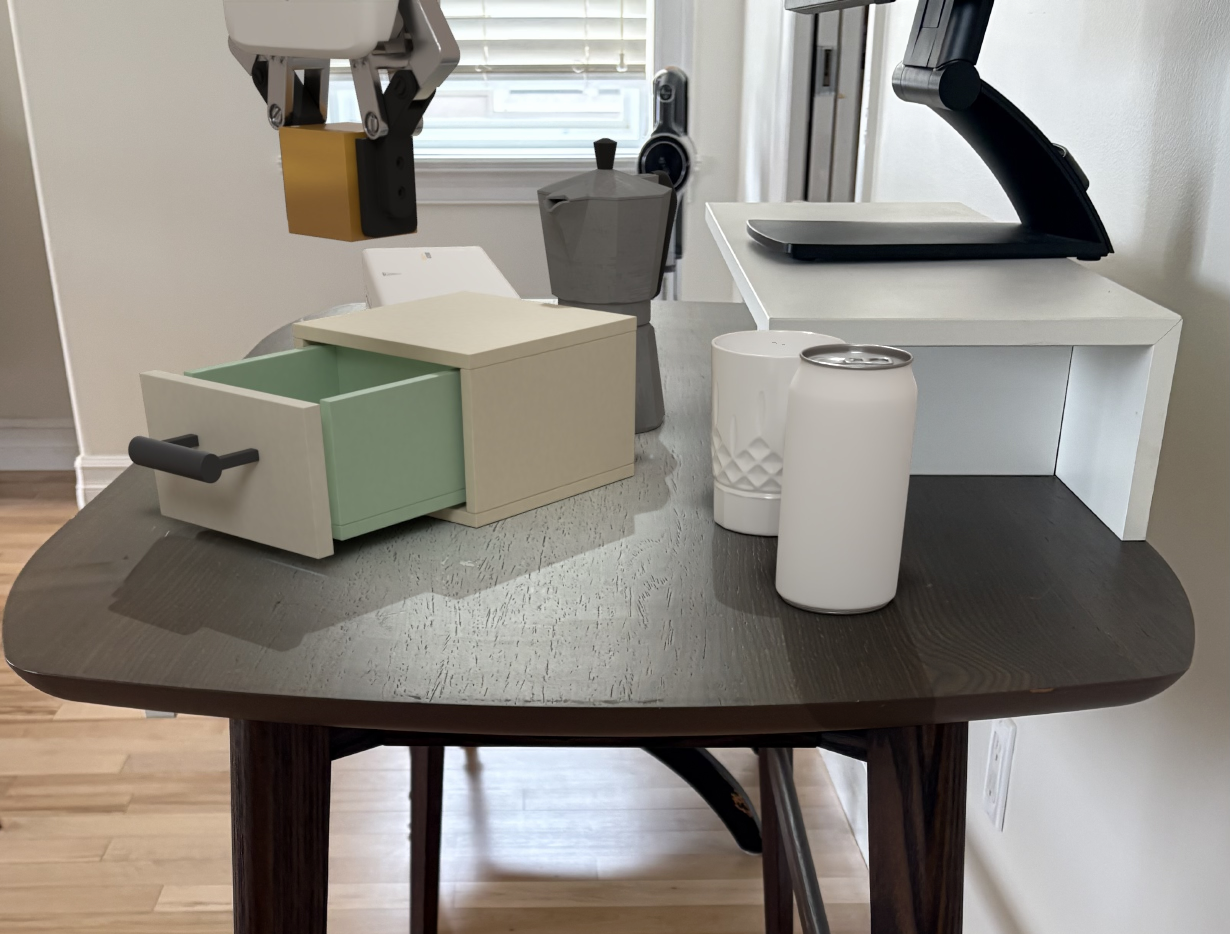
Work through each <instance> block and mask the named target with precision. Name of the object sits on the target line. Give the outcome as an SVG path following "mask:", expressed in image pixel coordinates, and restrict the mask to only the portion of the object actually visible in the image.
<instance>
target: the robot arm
mask: <svg viewBox="0 0 1230 934" xmlns="http://www.w3.org/2000/svg"><path fill="white" fill-rule="evenodd" d="M222 5H223V14H224V19H225V27H226V30H227V34H228V36H227V37H228V38H227V46H228V50H229V51H230V53H231V55H232V56H233V57H234V58H235V59H236V61H237V62H238V63H239V64H240V65H241V67H242V68H243V70H245V72H246V73H247V74H248V75H249V77H251V79H252V83H253V84H254V87H255V88H256V90H257V91H258V93H259V94H260V96H261V98H262V100H263V101H264V103H265V105H266V106H267V107H266V114H267V120H268V122H269V125H270V126H271V128H272V129H273V130H275V131H279V127H285V126H299V125H313V124H326V123H327V120H328V112H329V111H328V109H329V91H330V76H331V75H330V74H331V73H330V72H331V60H348V63H349V66H350V71H351V76H352V82H353V85H354V91H355V95H356V100H357V105H358V110H359V114H360V119H361V123H362V125H363V129H364V132H365V134H366V135H367V137H368V138H357V139H355V147H356V161H357V175H358V188H359V202H360V216H361V229H362V232H363V234H364V235H365V236H366V237H372V238H378V239H380V238H379V237H385V238H387V237H386V236H392V237H394V236H393V235H400V236H402V235H401V234H407V235H409V234H408V233H413V232H415V231H416V229H417V230H418V224H419V223H418V205H417V203H418V202H417V189H416V187H417V186H416V169H415V151H414V150H415V149H414V137H417V136H419V135H421V133H422V132H423V130H424V117H423V116H424V115H425V113H426V111H427V110H428V108H429V106H430V105H431V103H432V101H433V99H434V98H435V95H436V93H437V88H440V86H441V85H443V83H444V82H445V81H446V80H447V79H448V77H450V75H451V74H452V73H453V71H455V69H456V68H457V67H458V65H459V63H460V60H461V50H460V47H459V44H458V42H457V40H456V37H455V36H454V33H453V32H452V29H451V27H450V25H449V23H448V21H447V19H446V16H445V14H444V12H443V10H442V8H441V0H222ZM302 70H304V71H303V82H302V80H301V79H300V77H299V75H298V74H297V72H296V71H302ZM382 74H383V75H384V74H387V76H388V84H387V86H386V88H385V90H384V91H383V86H382V81H381V77H380V75H382ZM278 138H279V141H280V135H279V134H278ZM279 149H280V151H281V145H280V144H279ZM280 160H281V162H282V156H281V155H280ZM281 171H282V172H283V166H282V165H281ZM282 181H283V182H284V176H283V175H282ZM283 190H284V191H283V192H284V193H285V187H284V186H283ZM284 201H285V203H286V197H285V196H284ZM285 212H286V213H285V214H287V207H286V206H285ZM286 220H287V221H288V218H287V217H286Z"/></svg>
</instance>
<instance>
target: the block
mask: <svg viewBox="0 0 1230 934" xmlns="http://www.w3.org/2000/svg"><path fill="white" fill-rule="evenodd" d="M279 135H280V140H279V146H280V145H281V150H280V157H281V156H282V161H281V167H282V166H283V171H282V177H283V176H284V181H283V188H284V187H285V192H284V198H285V197H286V202H285V208H286V207H287V213H286V219H287V218H288V220H287V226H288V227H287V228H288V234H291V235H298V236H305V237H313V238H319V239H326V240H334V241H340V242H346V243H347V242H348V243H355V242H362V241H369V240H378V239H383V238H392V237H397V236H407V235H412V234H414V235H415V234H418V228H417V229H416V231H415V232H413V233H408V234H401V235H393V236H386V237H379V238H372V237H366V236H365V235H364V234H363V232H362V229H361V216H360V202H359V188H358V175H357V161H356V147H355V139H357V138H368V137H367V135H366V134H365V132H364V129H363V125H362V122H354V121H353V122H351V121H343V122H329V123H327V122H326V123H325V124H313V125H299V126H285V127H279V130H278V136H279Z"/></svg>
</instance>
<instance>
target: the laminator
mask: <svg viewBox="0 0 1230 934" xmlns="http://www.w3.org/2000/svg"><path fill="white" fill-rule="evenodd" d="M361 264H362V274H363V275H362V276H363V289H364V300H365V310H366V309H372V308H377V307H382V306H387V305H393V304H398V303H403V302H409V301H414V300H419V299H425V298H430V297H435V296H440V295H446V294H451V293H456V292H462V291H469V292H476V293H482V294H489V295H496V296H502V297H509V298H516V299H522V298H521V296H520V295H519V293H518V292H517V291H516V290H515V288H514V287H513V285H512V284H511V283H510V282H509V281H508V279H507V278H506V277H505V275H504V274H503V273H502V271H501V270H500V269H499V268H498V267H497V265H496V264H495V263H494V261H493V260H492V259H491V258H490V257H489V255H488V253H486V251H485V250H484V249H483V247H482V246H479V245H466V246H465V245H462V246H461V245H459V246H455V245H454V246H410V247H409V246H406V247H366V248H363V249H362V251H361Z"/></svg>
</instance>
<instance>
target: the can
mask: <svg viewBox="0 0 1230 934" xmlns="http://www.w3.org/2000/svg"><path fill="white" fill-rule="evenodd" d="M799 356H800V358H801V362H800V365H799V367H798V369H797V371H796V373H795V375H794V377H793V379H792V381H791V384H790V387H789V394H788V405H787V418H786V432H785V446H784V460H783V475H782V489H781V504H780V519H779V534H778V536H777V551H776V568H775V590H776V592H778V594H779V595H780V597H781V599H782V600H783V601H784V602H785V603H786V604H788V605H789V606H790V607H793V608H796V609H799V610H802V611H805V612H809V613H815V614H822V615H831V616H852V615H853V616H854V615H863V614H867V613H872V612H876V611H879V610H882V609H883V608H886V606H887V605H889V604H890V601H892V600H893V599H894V598H895V596H896V594H897V589H898V579H899V572H900V563H901V556H902V555H901V554H902V546H903V540H904V539H903V537H904V529H905V520H906V512H907V511H906V510H907V502H908V493H909V485H910V477H911V476H910V475H911V466H912V457H913V449H914V439H915V430H916V422H917V421H916V420H917V410H918V400H919V399H918V398H919V390H918V389H919V388H918V385H917V382H916V379H915V376H914V373H913V368H912V363H913V362H914V359H915V357H914V354H912V353H910V352H909V351H906V350H903V349H900V348H896V347H892V346H885V345H877V344H868V343H867V344H866V343H865V344H864V343H848V344H828V345H819V346H814V347H809V348H806V349H804V350H802V351H801V352H800V354H799Z"/></svg>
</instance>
